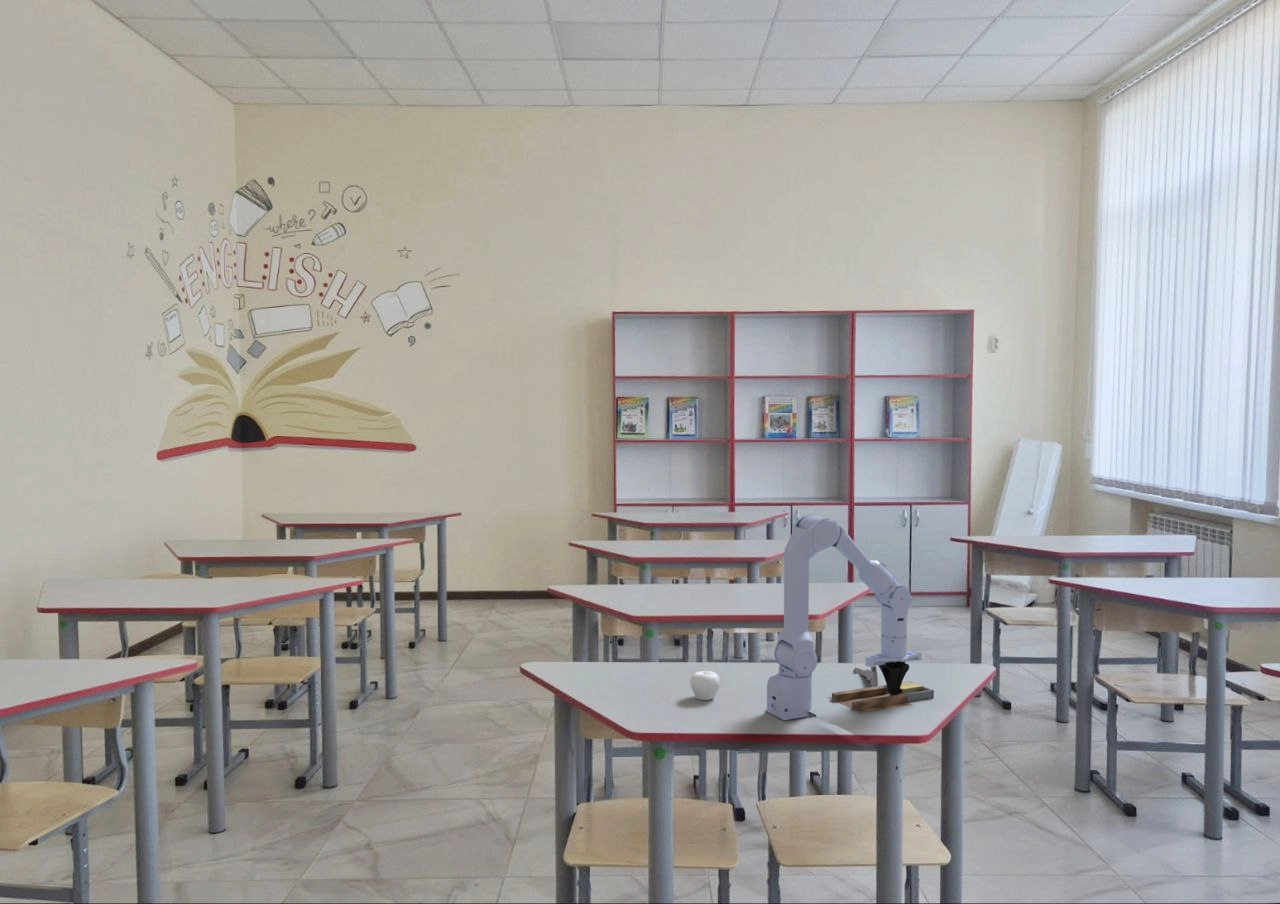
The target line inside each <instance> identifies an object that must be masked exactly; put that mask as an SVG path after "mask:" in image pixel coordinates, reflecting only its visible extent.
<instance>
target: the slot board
mask: <svg viewBox="0 0 1280 904" xmlns="http://www.w3.org/2000/svg"><path fill="white" fill-rule="evenodd" d="M829 699H830V700H832V701H834V702H836V703H838V704H840V705H843V706H846V707H848V708H849V709H852V710H854V711H856V712H859V713H867V712H874V711H880V710H886V709H892V708H898V707H899V708H900V707H905V706H906V707H907V706H911V705H913V704H912V703H909V702H908V696H906V695H904V694H899V695H891V694H889V693H886V687H884V686H883V685H878V686H875V687H873V686H870V687H863V688H856V689H850V690H842V691H837V692H832V693H831V696H830V697H829Z"/></svg>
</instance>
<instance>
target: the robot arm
mask: <svg viewBox="0 0 1280 904" xmlns="http://www.w3.org/2000/svg"><path fill="white" fill-rule="evenodd" d="M792 530H793V531H792V532H791V534H790V537H789V539H788V541H787V542H786V544H785V548H784V552H783V629H782V630H781V631H780V632H779V633H778V635H777V643H776V646H774V651H773V657H774V660H775V661H776V662H777V664H778V673H777V674H774V675H772V676H770V677H768V680H767V683H766V708H764V710H765V712H767V713H769V714H771V715H773V716H775V717H777V718H778V719H781V720H782V721H787V720H788V721H789V720H797V719H801V718H807V717H813V716H814V717H815V716H816V714H815V713H813V712H811V710H812V709H813V708H812V707H813V705H812V704H813V702H812V701H813V698H812V696H813V695H812V693H813V684H812V682H813V677H812V676H813V672H814V671H815V670H816V668H817V666H818V656H817V653H816V651H815V649H814V640H813V638H812V635H811V633H810V631H809V609H810V608H809V607H810V606H809V605H810V604H809V600H810V599H809V594H810V593H809V592H810V590H809V588H810V587H809V585H810V581H809V579H810V578H809V577H810V575H809V573H810V560H811V559H812V558H813V557H814V556H815V555H817V553H819V552H821V551H824V550H826V549H828V548H830V547H833V548H834V549H836V550H837V551H838V552H839V553H841V555H842V556H844V557H845V558H846V559H847V561H848V562H850V563H851V564H852V565H853V566H854V567H855V568H856V569H857V570H858V578H859V579H860V581H862V583H864V585H865V586H866V587H868V589H870V591H871V592H872V593H873V594H874V595H875V599H876V601H877V603H879V604H880V607H881V608H880V615H881V616H880V620H881V623H880V631H881V632H880V652H879V653H877V654H873V655H870V656H865V664H864V665H865V667H866V666H867V667H869V668H871V667H874V666H875V667H877V666H878V667H879V670H880V671H881V672H882V675H883V677H884V681H885V683H886V684H885V685H887V688H888V693H887V694H888V695H890V696H892V695H899V691H900V687H901V684H902V683H903V680H904V678H905V676H906V675H907V673H908V671H909V670H910V664H908V663H906V662H911V661H912V662H913V661H916V662H917V661H918V662H920V661H922V651H918V650H907V649H908V647H907V645H908V644H907V643H908V641H907V640H908V615H909V608H910V607H911V605H912V603H913V599H914V597H913V596H911V595H912V594H911V592H910V590H909V588H908V587H906V586H904V585H901V584H899V580H898V577H896V576H893V575H892V574H891V573H890V572H889V571H888V570H887V569H886V564H885V563H884V562H883V561H881V560H880V561H878V560H877V559H870V558H869V557H868V556H867V555H866V554H865V553H864V552H863V550H862V549H861V548H860V547H859V545H858V544H856V542H855V541H854V540H853V539H852V538H851V536H850V535H849V534H848V533H847V531H846V530H845V528H844V527H842V526H841V525H839V524H838V522H837V521H836V520H835V519H833V518H830V517H822V516H817V515H814V514H805V515H803V516H801V517H800V518H799V519H798V520H797V521H795V522H794V523H793V524H792Z"/></svg>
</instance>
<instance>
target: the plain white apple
mask: <svg viewBox="0 0 1280 904" xmlns="http://www.w3.org/2000/svg"><path fill="white" fill-rule="evenodd" d="M720 687H721V679H720V677H719V675H718V674H717V673H716V672H714V671H712V670H707V665H706V664H705V665H704V668H703V670H701V671H699V670H698V671H695V672H694V673H693V674H692V675H691V677H690V688H691V690H692V692H693V695H694V697H695V698H696V699H697V700H699V699H700V701H702V700H707V701H710V699H711V700H713V699H714V698H715V697H716V695H717V693H718V691H719V689H720Z"/></svg>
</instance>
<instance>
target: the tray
mask: <svg viewBox="0 0 1280 904" xmlns="http://www.w3.org/2000/svg"><path fill="white" fill-rule="evenodd" d="M906 682H907V681H906ZM906 682H903V681H902V683H906ZM882 686H884V687H886V694H889V693H888V688H887V684H883V685H882ZM922 686H923V691H920V692H914V693H907V694H904V695H906V696H908V703H909V702H915V701H922V700H928V699H933V698H935V697H934V696H935V695H934V691H935V690H934V689H931V688H928V687H926V686H924V685H922Z"/></svg>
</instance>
